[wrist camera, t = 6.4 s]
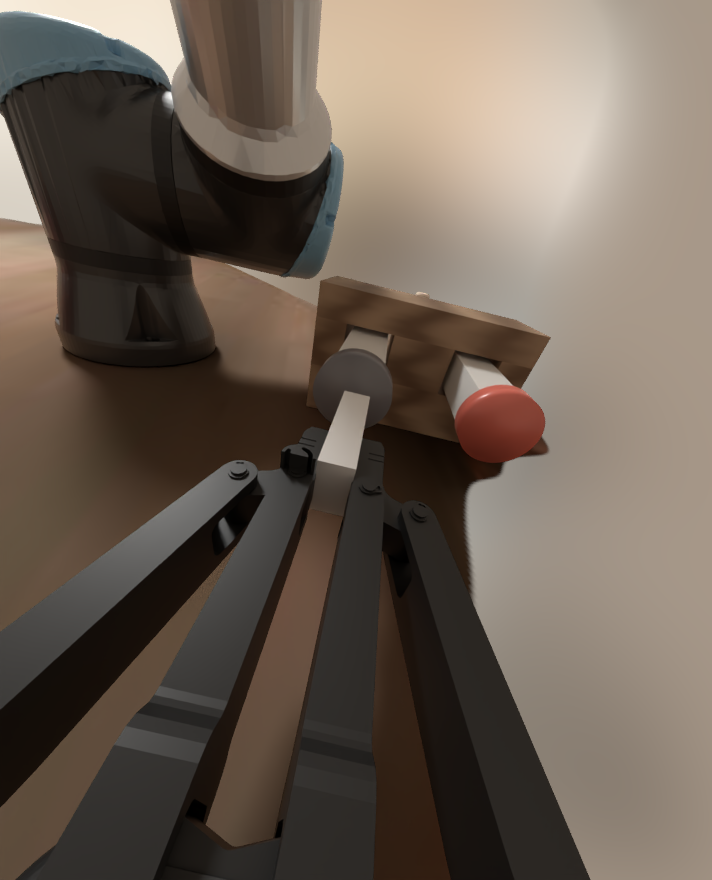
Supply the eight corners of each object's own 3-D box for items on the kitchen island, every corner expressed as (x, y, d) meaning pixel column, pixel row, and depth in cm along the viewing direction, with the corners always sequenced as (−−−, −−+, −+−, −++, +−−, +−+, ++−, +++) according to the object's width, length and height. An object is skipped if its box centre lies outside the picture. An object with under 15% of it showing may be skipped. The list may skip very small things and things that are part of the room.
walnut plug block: (306, 406, 30) (320, 280, 23) (322, 379, 36) (337, 275, 30) (485, 449, 30) (550, 337, 23) (468, 414, 37) (516, 320, 30)
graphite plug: (308, 419, 19) (317, 346, 16) (339, 363, 30) (348, 312, 27) (380, 437, 19) (402, 366, 16) (386, 374, 30) (399, 325, 27)
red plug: (446, 453, 19) (479, 385, 17) (428, 385, 30) (447, 336, 27) (517, 470, 19) (563, 406, 17) (475, 396, 30) (498, 349, 27)
